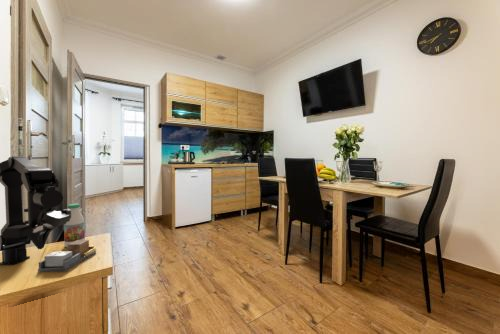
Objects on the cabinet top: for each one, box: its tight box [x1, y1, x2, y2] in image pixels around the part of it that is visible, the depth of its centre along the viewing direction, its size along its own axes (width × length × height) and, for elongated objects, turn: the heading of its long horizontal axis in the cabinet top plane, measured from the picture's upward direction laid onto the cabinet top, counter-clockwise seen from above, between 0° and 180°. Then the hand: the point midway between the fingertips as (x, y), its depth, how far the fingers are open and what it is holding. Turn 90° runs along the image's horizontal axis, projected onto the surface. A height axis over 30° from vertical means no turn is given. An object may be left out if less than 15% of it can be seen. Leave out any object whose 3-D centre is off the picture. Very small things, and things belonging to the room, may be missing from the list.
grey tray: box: [37, 245, 97, 273], centre depth 87 cm, size 10×16×4 cm, turn 2°
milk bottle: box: [63, 203, 86, 248], centre depth 104 cm, size 8×8×20 cm
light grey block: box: [44, 250, 72, 267], centre depth 82 cm, size 7×5×4 cm
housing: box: [67, 239, 90, 256], centre depth 91 cm, size 5×5×5 cm
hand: (40, 248), depth 74 cm, fingers closed
